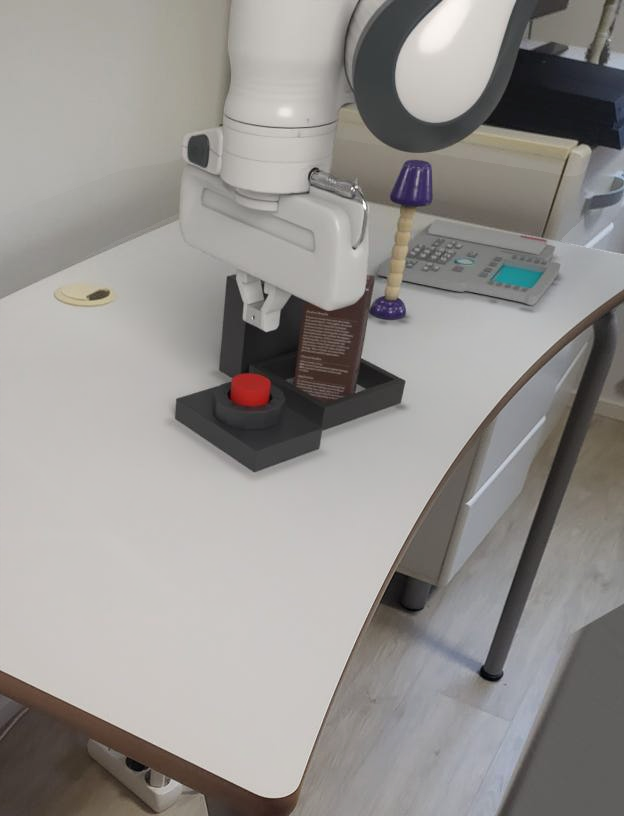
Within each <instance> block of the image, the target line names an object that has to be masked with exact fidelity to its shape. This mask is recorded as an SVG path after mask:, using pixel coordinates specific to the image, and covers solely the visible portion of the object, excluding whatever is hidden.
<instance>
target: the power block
mask: <svg viewBox="0 0 624 816" xmlns="http://www.w3.org/2000/svg"><path fill="white" fill-rule="evenodd" d="M231 383H232V380H231V381H228V382H224V383H221V384H220V385H216V386H212V387H209V388H206V389H204V390H200V391H197V392H194V393H189V394H187V395H184V396H181V397H180V396H179V397H176V399H175V413H174V414H175V415H174V419H175V420H176V421H177V422H179V423H180V424H182V425H183V426H184V427H186V428H188V429H189V430H191V431H192V432H193V433H195V434H197V435H198V436H199V437H201V438H203V439H204V440H206V442H208V443H210V444H211V445H212V446H214V447H215V448H217V449H218V450H220V451H221V452H223V453H225V454H226V455H227V456H229V457H230V458H232V459H233V460H235V461H236V462H238V463H240V465H242V466H244V467H245V468H247V469H248V470H250V471H251V472H252V473H257V472H259V471H263V470H266V469H268V468H271V467H274V466H277V465H279V464H281V463H284V462H287V461H290V460H293V459H296V458H298V457H301V456H305V455H306V454H310V453H313V452H314V451H318V450H320V447H321V440H322V434H323V431H322V428H321V427H319V426H318V425H316V424H314V423H313V422H311V421H309V420H308V419H306V418H304V417H303V416H301V415H299V414H298V413H296V412H294V411H293V410H291V409H289V408H288V407H286V406H285V402H286V399H285V396H284V394H283V392H282V390H280V389H278V388H276V387H275V386H273V385H271V387H270V395H269V402H268V403H267V404H264V405H261V406H246V405H242V404H237V403H235V402H233V401H232V400H231V399H230V394H231Z"/></svg>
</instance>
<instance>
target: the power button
mask: <svg viewBox="0 0 624 816" xmlns="http://www.w3.org/2000/svg"><path fill="white" fill-rule="evenodd" d="M231 381H232V383H231V394H230V399H231V400H232V401H233V402H235V403H237V404H242V405H246V406H261V405H264V404H267V403H268V402H269V395H270V387H271V382H270V380H269V379H268V378H266V377H264V376H262V375H258V374H251V373H246V374H240V375H237V376H235V377H234V378H231Z"/></svg>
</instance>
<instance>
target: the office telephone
mask: <svg viewBox="0 0 624 816" xmlns="http://www.w3.org/2000/svg"><path fill="white" fill-rule="evenodd" d="M548 241H549V240H547V239H544V238H539V237H538V238H537V237H533V236H528V235H520V234H516V233H512V232H511V233H510V232H504V231H500V230H494V229H488V228H485V227H484V228H483V227H478V226H473V225H467V224H461V223H456V222H451V221H445V220H442V219H435V220H434V221H433V222H432V223H430V224H429V225H427V226H426V228H424V229H423V230H421V232H419V233H418V234H417V235H415V236H414V237H413V238H412V239H410V241H409V243H408V244H407V246H408V252H407V255H406V257H405V268H404V270H403V272H402V275H403V278H402V281H404V282H409V283H413V284H419V285H424V286H428V287H432V288H433V287H434V288H438V289H443V290H447V291H454V292H461V293H462V292H463V293H464V292H469V293H476V294H480V295H486V296H491V297H494V298H495V297H496V298H500V299H505V300H510V301H514V302H518V303H522V304H525V305H530V306H534V305H536V304H537V302H539V300H540V299H541V298H542V297H543V295H544V294H545V293H546V291H547V290H548V289H549V288H550V286H552V283H553V282H554V281H555V279H556V278H557V276H558V274H559V272H560V268H561V263H559V262H553V261H551V259H552V258H553V257H554V254H555V251H556V246H555V245H551V244H548ZM392 258H393V257H392V256H390V257H388V258H387V259H386V260H384V261H383V262H382V263H381V264H380V265H378V267H377V273H376V274H377V276H381V277H385V278H387V276H388V274H389V272H390V269H389V265H390V261H391V259H392Z"/></svg>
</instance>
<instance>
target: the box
mask: <svg viewBox="0 0 624 816" xmlns="http://www.w3.org/2000/svg"><path fill="white" fill-rule="evenodd" d="M375 281H376V276H375V275H372V274H367V280H366V287H365V292H364V294H363V296H362V297H361V298H360V299H359V300H358V301H357V302H356V303H355V304H353V305H350V306H347V307H344V308H340V309H336V310H332V311H327V310H324V309H322V308H319V307H317V306H315V305H313V304H311V303H309V302H307V301H305V300H304V305H303V313H302V322H301V330H300V338H299V346H298V354H297V362H296V369H295V377H293V379H294V380H293V384H292V385H294V386H296V387H298V388H299V389H301V390H303V391H305V392H306V393H308V394H310V395H312V396H313V397H315V398H317V399H319V400H320V401H322V402H324V403H327V402H330V401H333V400H336V399H339V398H342V397H345V396H348V395H351V394H353V393H356V392H357V391H356V390H357V385H358V384H357V380H358V374H359V368H360V362H361V358H362V355H363V349H364V345H365V340H366V333H367V326H368V320H369V315H370V308H371V305H372V304H371V303H372V298H373V292H374V286H375Z"/></svg>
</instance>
